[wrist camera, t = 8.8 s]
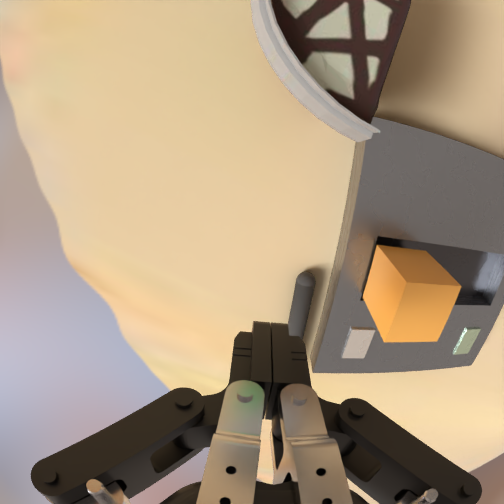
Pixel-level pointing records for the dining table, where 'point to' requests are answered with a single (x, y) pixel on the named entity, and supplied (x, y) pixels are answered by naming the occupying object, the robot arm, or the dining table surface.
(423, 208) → the panel
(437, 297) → the lever
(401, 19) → the food container
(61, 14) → the dining table surface
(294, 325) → the grey rod
